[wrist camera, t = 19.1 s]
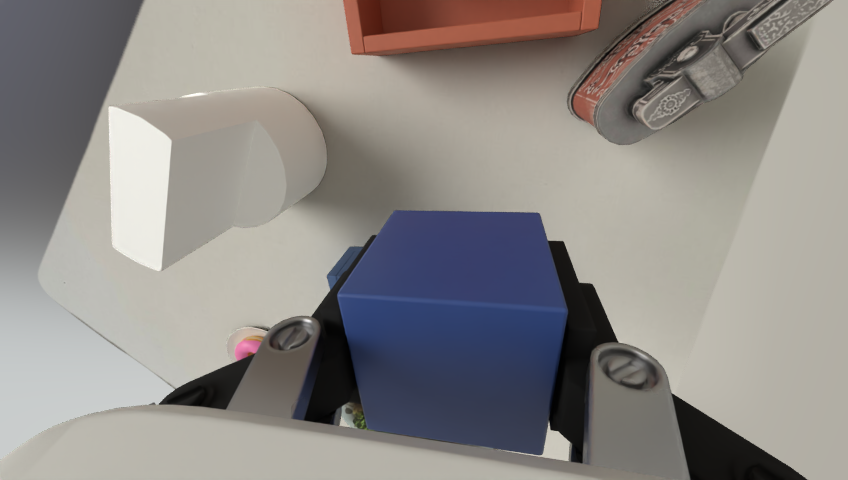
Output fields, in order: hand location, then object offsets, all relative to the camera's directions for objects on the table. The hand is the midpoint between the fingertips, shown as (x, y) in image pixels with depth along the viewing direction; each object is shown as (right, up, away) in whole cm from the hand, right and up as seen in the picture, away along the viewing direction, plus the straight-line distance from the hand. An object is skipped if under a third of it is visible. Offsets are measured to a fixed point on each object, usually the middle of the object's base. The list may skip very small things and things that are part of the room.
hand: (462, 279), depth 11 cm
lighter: (+11, +12, +9) cm, 19 cm away
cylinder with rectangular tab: (-13, +9, +16) cm, 23 cm away
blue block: (0, 0, 0) cm, 0 cm away
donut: (-21, -13, +30) cm, 39 cm away
